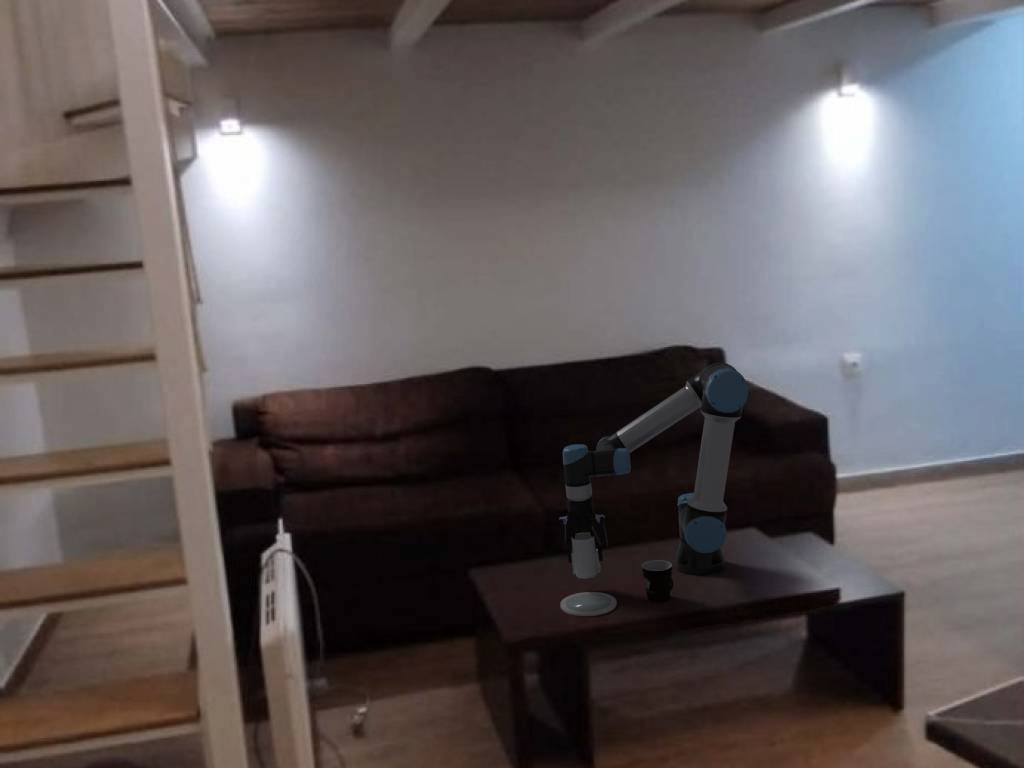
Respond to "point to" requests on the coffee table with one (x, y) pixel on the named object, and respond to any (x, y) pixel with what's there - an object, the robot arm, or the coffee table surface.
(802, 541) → the coffee table surface
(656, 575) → the coffee mug
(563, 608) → the plate
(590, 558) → the mug
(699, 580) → the coffee table surface
